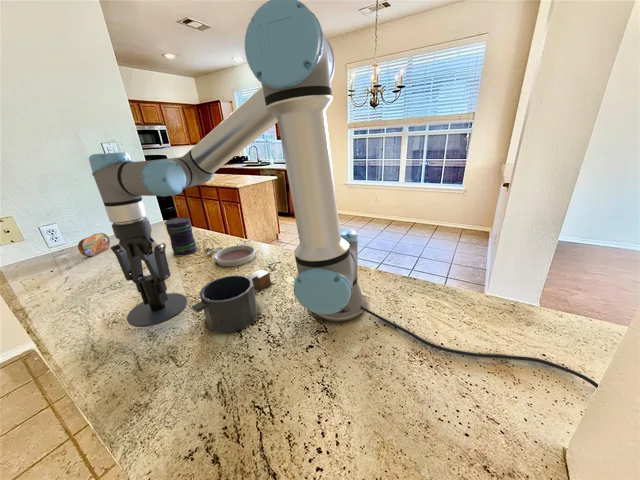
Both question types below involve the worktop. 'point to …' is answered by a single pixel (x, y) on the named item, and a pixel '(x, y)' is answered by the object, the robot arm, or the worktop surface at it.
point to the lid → (155, 307)
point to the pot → (228, 303)
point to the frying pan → (233, 255)
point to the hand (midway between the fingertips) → (156, 301)
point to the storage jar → (181, 236)
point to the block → (262, 279)
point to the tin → (93, 244)
